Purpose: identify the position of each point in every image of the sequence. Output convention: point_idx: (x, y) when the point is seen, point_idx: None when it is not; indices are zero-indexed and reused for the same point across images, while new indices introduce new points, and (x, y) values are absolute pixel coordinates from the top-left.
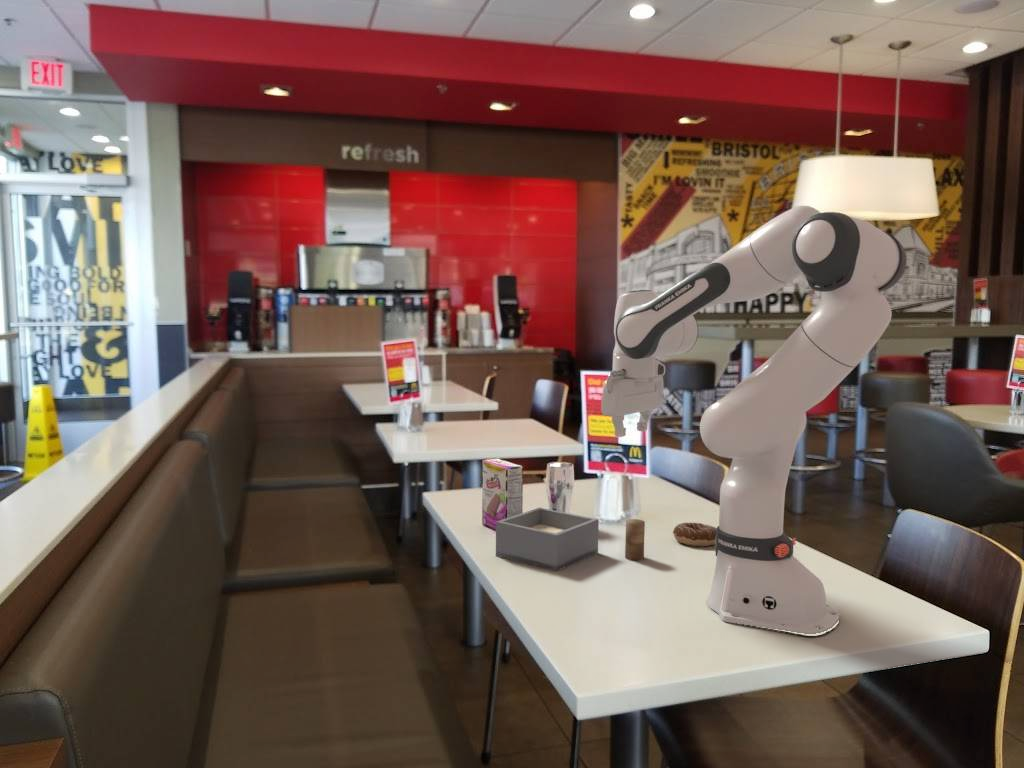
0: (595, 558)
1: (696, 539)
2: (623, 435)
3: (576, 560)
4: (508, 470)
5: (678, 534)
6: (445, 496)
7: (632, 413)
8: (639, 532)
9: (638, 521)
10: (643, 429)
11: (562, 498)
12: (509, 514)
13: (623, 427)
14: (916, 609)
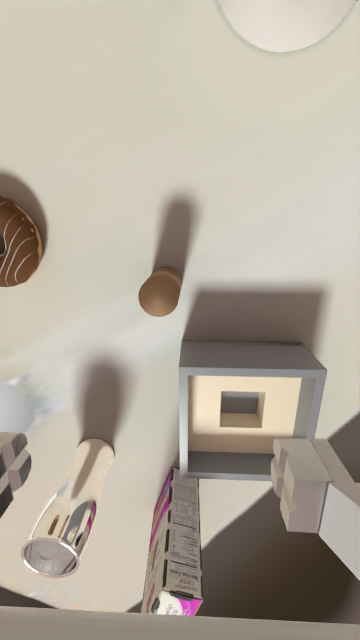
0: (209, 329)
1: (31, 222)
2: (304, 439)
3: (245, 342)
4: (198, 594)
5: (35, 262)
6: (102, 607)
7: (276, 620)
8: (170, 277)
9: (153, 292)
10: (16, 440)
11: (91, 481)
12: (194, 501)
13: (346, 488)
14: None
